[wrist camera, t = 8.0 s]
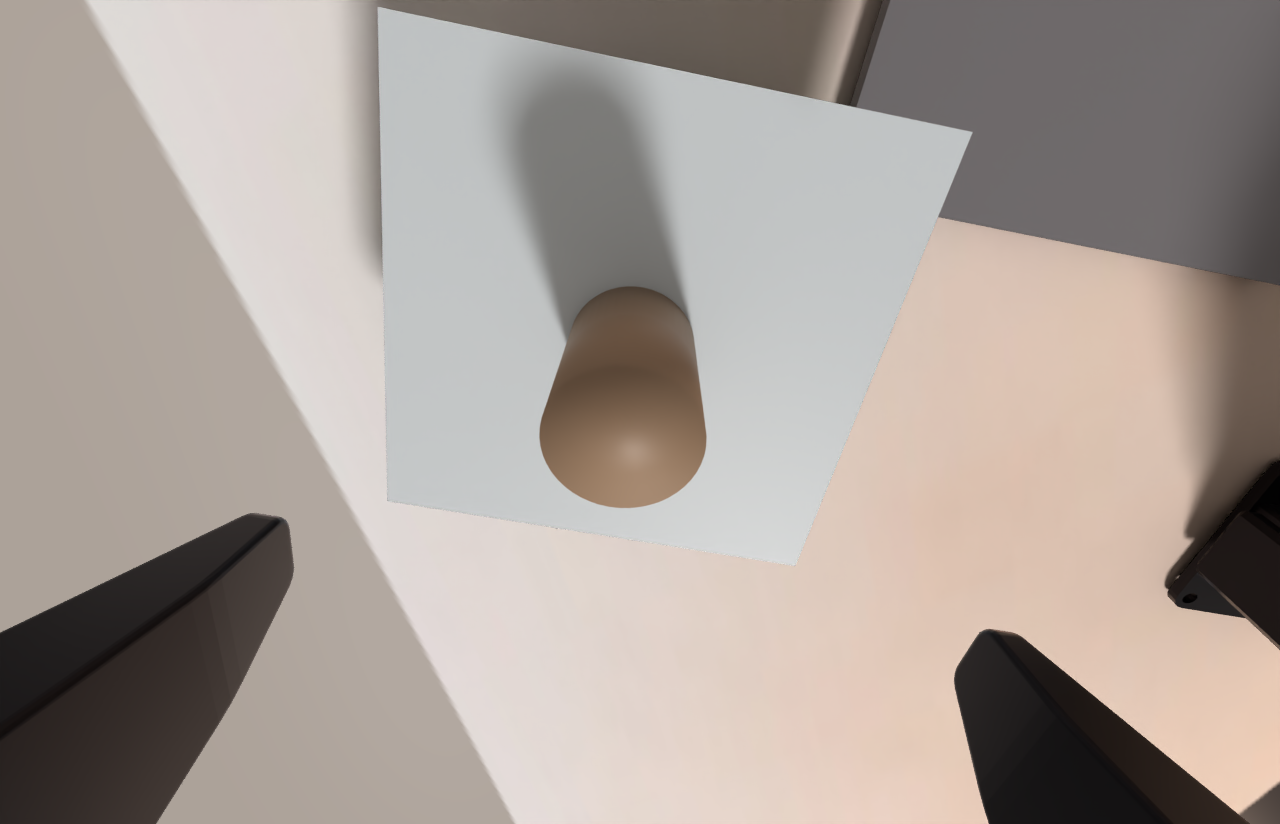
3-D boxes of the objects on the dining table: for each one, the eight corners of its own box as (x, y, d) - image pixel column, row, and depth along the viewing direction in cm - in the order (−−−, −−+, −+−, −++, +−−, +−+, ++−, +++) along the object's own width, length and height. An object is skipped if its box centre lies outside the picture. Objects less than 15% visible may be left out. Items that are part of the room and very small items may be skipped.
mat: (1636, -255, 12) (1681, -270, 12) (1265, 279, 18) (1284, 286, 17) (1016, -425, 11) (1033, -448, 11) (822, 191, 17) (828, 195, 16)
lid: (954, 128, 12) (1107, 160, 8) (789, 546, 18) (830, 696, 13) (394, 10, 12) (244, -21, 7) (398, 483, 17) (312, 620, 13)
